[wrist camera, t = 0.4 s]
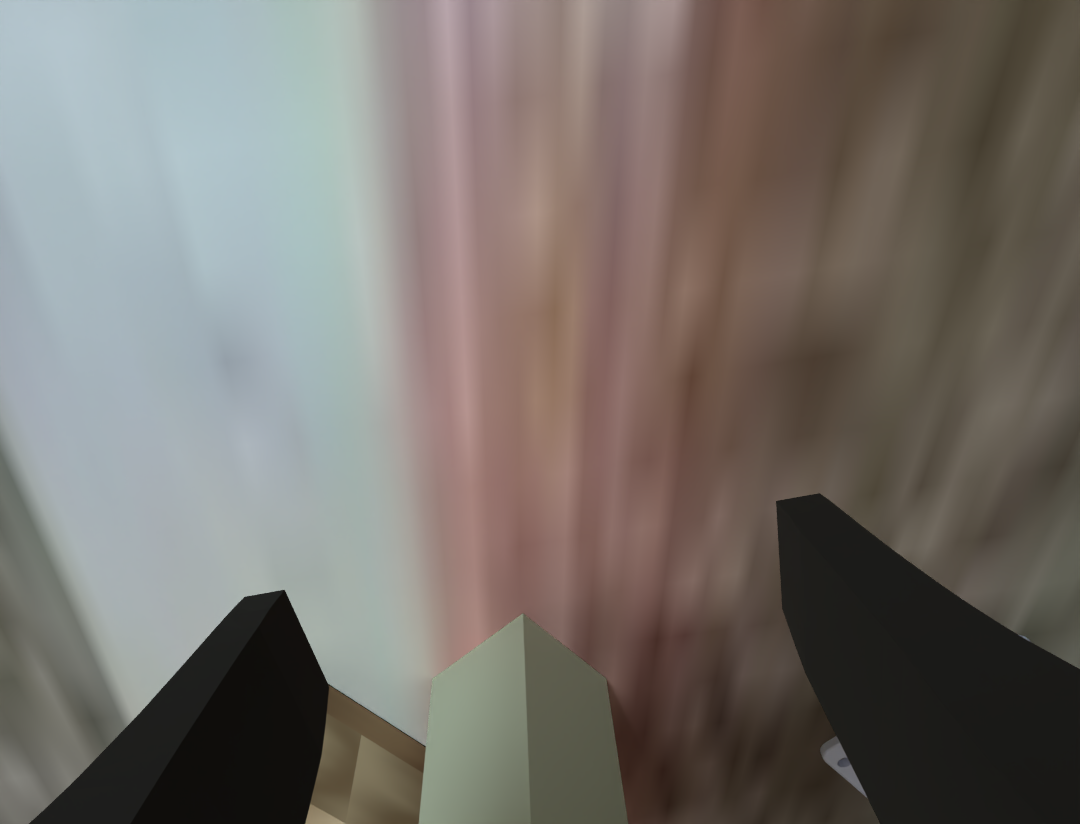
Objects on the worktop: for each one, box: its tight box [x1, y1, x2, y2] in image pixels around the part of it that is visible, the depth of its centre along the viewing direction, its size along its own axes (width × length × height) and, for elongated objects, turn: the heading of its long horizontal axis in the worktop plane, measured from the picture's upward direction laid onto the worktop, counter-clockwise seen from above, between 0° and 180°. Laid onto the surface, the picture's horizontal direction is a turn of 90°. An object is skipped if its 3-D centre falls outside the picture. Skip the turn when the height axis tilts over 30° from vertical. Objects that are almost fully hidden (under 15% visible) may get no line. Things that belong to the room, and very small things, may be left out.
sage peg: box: [419, 614, 628, 824], centre depth 22 cm, size 4×4×8 cm
